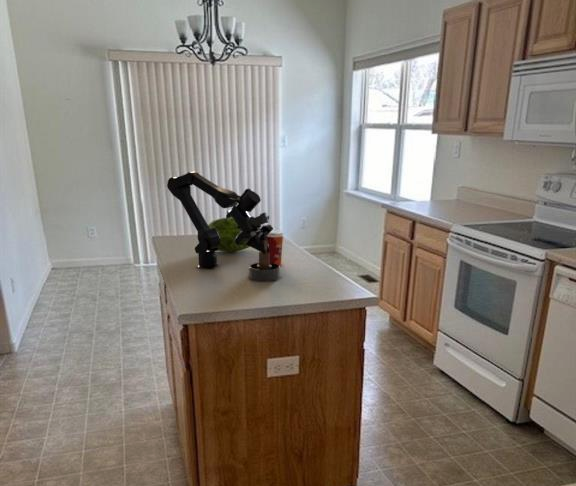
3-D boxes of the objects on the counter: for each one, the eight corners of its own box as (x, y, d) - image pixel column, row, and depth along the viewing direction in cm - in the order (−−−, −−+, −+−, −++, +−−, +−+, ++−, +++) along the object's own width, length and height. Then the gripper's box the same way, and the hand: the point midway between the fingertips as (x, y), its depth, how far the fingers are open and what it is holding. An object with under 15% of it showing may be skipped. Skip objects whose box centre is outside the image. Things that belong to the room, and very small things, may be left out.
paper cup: (281, 268, 219) (281, 234, 214) (263, 266, 220) (263, 233, 215) (285, 263, 226) (285, 230, 221) (267, 262, 228) (267, 229, 222)
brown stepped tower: (253, 269, 204) (253, 241, 200) (262, 266, 208) (262, 238, 204) (266, 272, 201) (266, 243, 197) (274, 268, 206) (274, 240, 202)
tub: (244, 279, 202) (244, 268, 201) (255, 272, 213) (255, 261, 211) (273, 282, 199) (274, 271, 198) (282, 275, 210) (283, 263, 208)
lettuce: (267, 252, 245) (268, 218, 239) (211, 256, 236) (209, 221, 230) (257, 245, 258) (257, 213, 252) (203, 249, 248) (201, 215, 243)
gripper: (240, 209, 190) (266, 243, 189) (269, 203, 205) (293, 235, 204) (223, 228, 197) (248, 262, 196) (252, 221, 212) (275, 252, 211)
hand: (267, 252), depth 202 cm, fingers closed on brown stepped tower, 2 cm apart
